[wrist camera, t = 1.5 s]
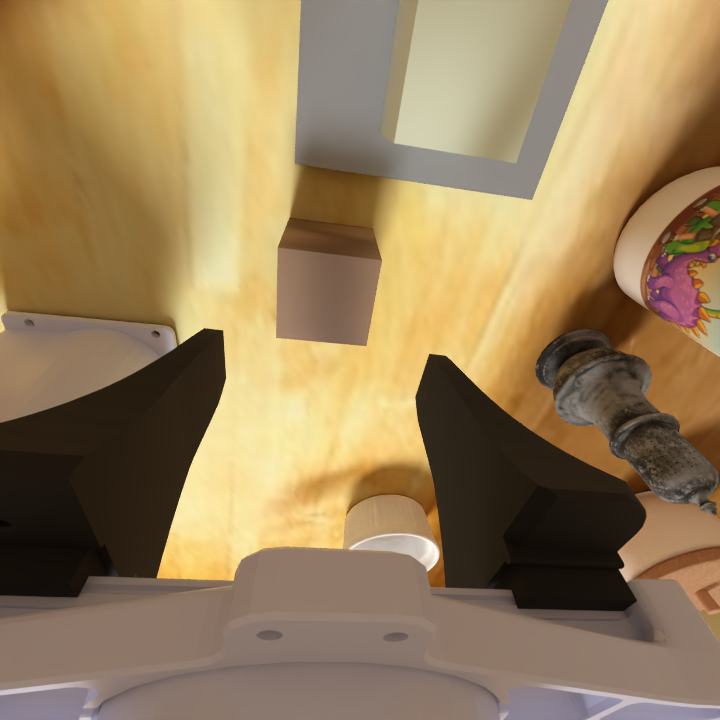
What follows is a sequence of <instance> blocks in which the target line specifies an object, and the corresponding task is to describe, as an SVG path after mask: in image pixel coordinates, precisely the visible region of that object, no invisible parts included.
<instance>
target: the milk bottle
mask: <svg viewBox="0 0 720 720" xmlns="http://www.w3.org/2000/svg"><path fill="white" fill-rule="evenodd" d="M613 269H614V273H615V278H616V281H617V283H618V285H619V287H620V288H621V290H622V291H623V292H624V293H625V294H626V295H628V296H629V297H630V298H632V299H633V300H634V301H636V302H637V303H639V304H640V305H642V306H643V307H645V308H646V309H648V310H649V311H651V312H652V313H654V314H655V315H657V316H658V317H660V318H661V319H663V320H664V321H666V322H667V323H669V324H670V325H672V326H673V327H675V328H676V329H678V330H680V331H681V332H683V333H684V334H686V335H687V336H689V337H690V338H692V339H693V340H695V341H696V342H698V343H699V344H701V345H702V346H704V347H705V348H707V349H708V350H710V351H712V352H713V353H715V354H716V355H718V356H719V357H720V167H711V168H706V169H702V170H699V171H695V172H693V173H690V174H687V175H685V176H682V177H679V178H678V179H676V180H674V181H672V182H671V183H669V184H667V185H665V186H664V187H662V188H661V189H660V190H659V191H657V192H656V193H654V194H653V195H652V196H650V197H649V198H648V199H647V200H646V201H645V202H644V203H643V204H642V205H641V206H640V207H639V208H638V210H637V211H636V212H635V213H634V215H633V216H632V217H631V218H630V219H629V221H628V223H627V224H626V226H625V228H624V229H623V231H622V232H621V235H620V237H619V240H618V242H617V244H616V248H615V252H614V256H613Z"/></svg>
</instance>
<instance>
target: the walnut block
mask: <svg viewBox="0 0 720 720" xmlns="http://www.w3.org/2000/svg"><path fill="white" fill-rule="evenodd" d="M381 262H382V259H381V256H380V252H379V249H378V246H377V242H376V239H375V236H374V232H373V229H369V228H362V227H354V226H347V225H339V224H332V223H324V222H317V221H309V220H302V219H294V218H289V221H288V223H287V226H286V228H285V231H284V233H283V236H282V238H281V241H280V243H279V246H278V267H277V323H276V338H285V339H296V340H307V341H317V342H328V343H339V344H350V345H361V346H366V345H367V339H368V334H369V328H370V323H371V317H372V312H373V306H374V301H375V295H376V290H377V284H378V279H379V273H380V268H381Z"/></svg>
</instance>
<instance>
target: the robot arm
mask: <svg viewBox="0 0 720 720" xmlns="http://www.w3.org/2000/svg"><path fill="white" fill-rule="evenodd" d="M1 320H2V322H3V324H4V327H5V329H6V330H4V331H3V332H1V333H0V720H720V642H719V640H718V639H717V637H716V636H715V634H714V633H713V631H712V630H711V629H710V627H709V626H708V624H707V623H706V621H705V620H704V619H703V617H702V616H701V614H700V613H699V611H698V610H697V608H696V607H695V606H694V604H693V603H692V601H691V600H690V598H689V597H688V596H687V594H686V593H685V591H684V590H683V588H682V587H681V585H680V584H679V583H678V581H675V580H671V579H645V578H640V579H633V580H630V581H627V582H626V581H625V579H624V577H623V576H622V574H621V572H620V570H619V569H622V568H624V562H623V560H622V559H621V557H620V555H619V554H618V551H619V550H620V549H621V548H622V547H623V546H624V545H625V544H626V543H627V542H628V541H629V540H631V539H632V538H633V537H634V536H635V535H636V534H637V533H638V532H639V531H640V529H641V528H642V527H643V525H644V523H645V520H646V517H647V515H646V509H645V508H644V507H643V505H642V504H641V502H640V501H639V500H638V498H637V497H636V496H635V494H634V493H633V491H632V490H631V489H630V487H629V486H628V485H627V483H626V482H625V481H623V480H621V479H619V478H617V477H614V476H612V475H610V474H608V473H606V472H604V471H601V470H599V469H597V468H595V467H593V466H591V465H589V464H587V463H585V462H583V461H581V460H579V459H577V458H575V457H574V456H572V455H570V454H568V453H566V452H564V451H563V450H561V449H559V448H557V447H556V446H554V445H552V444H551V443H549V442H548V441H546V440H544V439H543V438H541V437H540V436H538V435H537V434H535V433H534V432H532V431H531V430H529V429H528V428H526V427H525V426H523V425H522V424H521V423H519V422H518V421H517V420H515V419H514V418H513V417H511V416H510V415H509V414H508V413H506V412H505V411H504V410H503V409H501V408H500V407H499V406H498V405H497V404H496V403H495V402H493V401H492V400H491V399H490V398H489V397H488V396H487V395H486V394H484V393H483V392H482V391H481V390H480V389H479V388H478V387H477V386H476V385H475V384H474V383H473V382H472V381H471V380H470V379H469V378H468V377H467V376H466V375H465V374H464V373H463V372H462V371H461V370H460V369H459V368H458V367H457V366H456V365H455V364H454V363H453V362H452V361H451V360H450V359H449V358H448V357H446V356H443V355H434V354H429V357H428V360H427V363H426V366H425V369H424V372H423V375H422V378H421V381H420V384H419V388H418V391H417V394H416V408H417V416H418V422H419V427H420V430H421V434H422V438H423V442H424V446H425V450H426V453H427V457H428V461H429V465H430V469H431V472H432V477H433V481H434V487H435V493H436V500H437V507H438V515H439V523H440V531H441V539H442V549H443V560H444V571H445V584H446V588H441V587H430V586H429V581H428V575H427V569H426V567H425V566H424V565H423V564H421V563H420V562H419V561H417V560H416V559H415V558H413V557H412V556H411V555H407V554H402V553H397V552H392V551H374V550H351V549H329V548H306V547H276V548H266V549H262V550H259V551H257V552H255V553H253V554H251V555H249V556H247V557H245V558H244V559H242V560H241V562H240V564H239V566H238V568H237V570H236V572H235V577H234V581H223V580H191V579H160V578H157V574H158V570H159V567H160V563H161V559H162V555H163V552H164V549H165V545H166V542H167V538H168V535H169V531H170V528H171V524H172V521H173V518H174V515H175V511H176V508H177V505H178V502H179V498H180V495H181V492H182V489H183V486H184V483H185V480H186V477H187V474H188V471H189V468H190V466H191V463H192V461H193V458H194V456H195V454H196V451H197V449H198V447H199V445H200V443H201V441H202V438H203V436H204V434H205V432H206V430H207V428H208V426H209V423H210V421H211V419H212V417H213V415H214V412H215V410H216V408H217V406H218V403H219V400H220V397H221V394H222V391H223V387H224V384H225V380H226V370H225V353H224V337H223V330H214V329H205V328H204V329H203V330H201V331H199V332H198V333H196V334H195V335H193V336H192V337H191V338H189V339H188V340H186V341H185V342H183V343H182V344H180V345H179V346H177V343H176V337H175V332H174V330H173V329H172V328H171V327H169V326H166V325H156V324H145V323H135V322H124V321H113V320H102V319H91V318H80V317H70V316H59V315H48V314H37V313H26V312H15V311H8V312H6V313H5V314H3V315H2V316H1ZM30 320H31V321H33V322H34V323H32V322H30ZM154 331H157V332H159V333H160V335H158V334H156V333H155V332H154Z"/></svg>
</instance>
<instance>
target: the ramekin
mask: <svg viewBox="0 0 720 720" xmlns="http://www.w3.org/2000/svg"><path fill="white" fill-rule="evenodd" d="M343 549H351V550H374V551H392V552H397V553H402V554H407V555H411V556H412V557H413V558H415V559H416V560H417V561H419V562H420V563H421V564H423V565H424V566H425V567H426V569H427V571H429V570H430V569H431V568H432V567H433V566H434V565H435V564H436V562H437V561H438V558H439V547H438V545H437V542H436V541H435V539H434V538H433V535H432V532H431V529H430V526H429V523H428V520H427V517H426V514H425V511H424V509H423V508H422V506H421V505H420V504H419V503H418V502H417V501H415V500H413V499H411V498H409V497H405V496H401V495H392V494H387V495H378V496H374V497H370V498H368V499H365V500H363V501H361V502H359V503H358V504H356V505H355V506H354V507H353V508H352V509H351V510H350V511H349V513H348V514H347V516H346V519H345V526H344V542H343Z"/></svg>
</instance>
